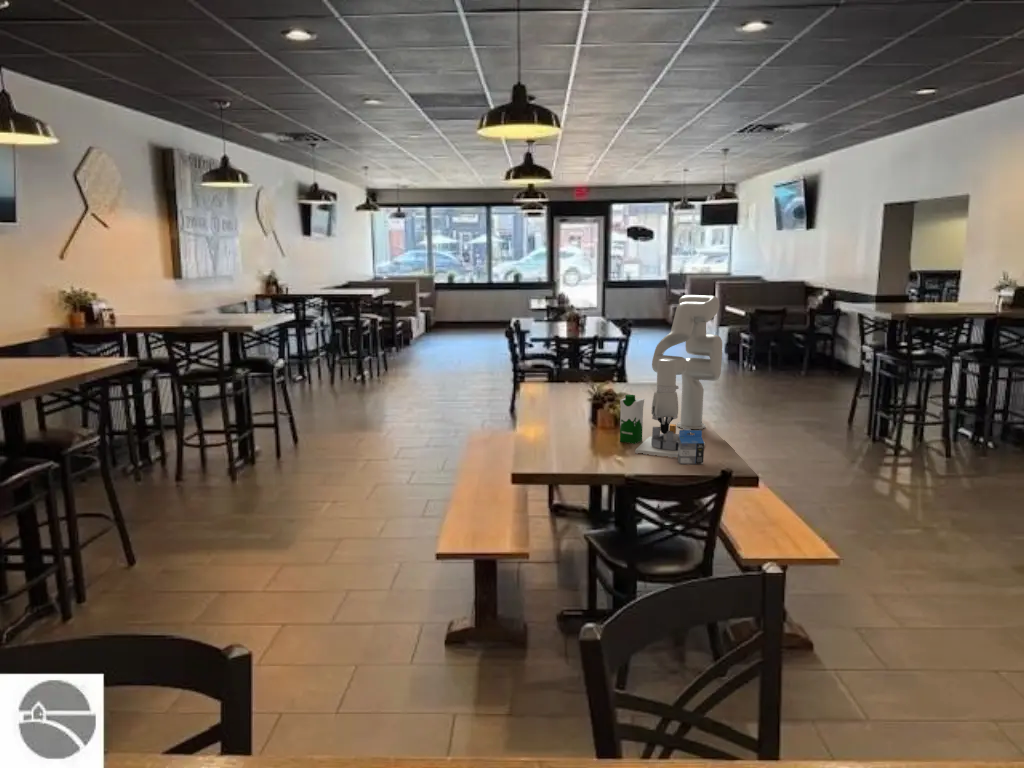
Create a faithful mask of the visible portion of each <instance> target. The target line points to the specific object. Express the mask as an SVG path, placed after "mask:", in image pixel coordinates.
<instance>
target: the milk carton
mask: <svg viewBox="0 0 1024 768" xmlns="http://www.w3.org/2000/svg"><path fill="white" fill-rule="evenodd" d="M619 404H620V421H619V422H620V424H619V442H620V443H625V442H626V444H632V443H633V445H636V444H638V443H641V442H642V441H643V429H644V428H643V427H644V425H643V424H644V422H643V421H644V405H645V398H639V397H638V398H637V397H636V394H626V395H625V397H624V398H622V399H620V400H619Z"/></svg>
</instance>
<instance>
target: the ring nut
mask: <svg viewBox="0 0 1024 768" xmlns="http://www.w3.org/2000/svg"><path fill="white" fill-rule="evenodd" d="M682 430H691V429H683V428H682ZM673 433H675V434H678V435H679V433H677V423H676V424H673V423H670V424H669V431H667V438H666V440H663V439H664V434H663V433H661V431H660V426H652V431H651V434H652V435H651V436H652V441H651V445H652V446H653V447H656V448H659V449H663V450H675V451H676V450H678V445H679V441H673ZM687 435H691V432H690V433H687Z"/></svg>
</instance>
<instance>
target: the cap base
mask: <svg viewBox="0 0 1024 768" xmlns="http://www.w3.org/2000/svg"><path fill="white" fill-rule="evenodd" d="M678 434H679V433H676V434H675V433H673V441H679V435H678ZM666 438H667V433H665V434H664V439H663V440H666ZM651 441H652V435H649V436H648V437H647V438H646V439H645V440H644V441H643V442H642V443H640V445H638V447H637V448H635V451H634V452H635V454H638V453H643V454H642V455H647V454H649V455H648V456H655V455H657V456H658V457H664V456H668V457H667V458H672V457H678V450H676V451H675V450H663V449H659V448H656V447H653V446H652V445H651ZM705 445H706V442H705V441H704V447H705Z"/></svg>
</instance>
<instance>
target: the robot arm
mask: <svg viewBox="0 0 1024 768" xmlns="http://www.w3.org/2000/svg"><path fill="white" fill-rule="evenodd" d="M719 309H720V300H719V298H718V297H717V296H715V295H701V294H700V295H699V294H687V295H682V296H680V298H679V299H678V304H677V307H676V309H675V313H674V317H673V321H672V326H671V328H670V329H671V330H670V332H669V333H667V334H666V335H665V336H664V337H663V338H661V339H660V341H659V342H658V343H657V344H656V347H655V349H654V353H653V355H652V362H651V368H652V370H653V372H654V373H656V391H654V393H653V397H652V401H651V402H652V403H651V415H652V418H651V419H652V420H655V421H658V422H659V423H660V425H659V427H660V434H665V433H667V431H669V427H670V424H671V422H672V421H673V420H676V419H678V417H679V416H678V415H679V398H678V393H677V390H679V385H676V383H677V376H680V375H681V405H680V421H679V422H677V423H676V427H678V428H679V427H680V429H683V428H684V429H699V430H704V429H706V424H705V423H704V422H703V415H704V414H703V413H704V412H703V411H704V410H703V409H704V387H703V385H702V383H701V380H702V381H710V382H714V381H717V380H718V381H719V379H720V378H721V373H722V360H723V340H722V338H721V336H719V335H716V334H709V333H707V323H708V322H710V321H711V320H712V319H713V318H715V316H716V315H717V313H718V312H719ZM683 343H685V351H686V353H687V354H689V355H691V356H692V355H693V356H706V357H709V358H700V357H687V358H685V357H683V356H677V355H676V356H675V355H664V354H665V352H666V351H667V350H668V349H670V348H672V347H673V346H677V345H679V344H683ZM703 428H704V429H703Z"/></svg>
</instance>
